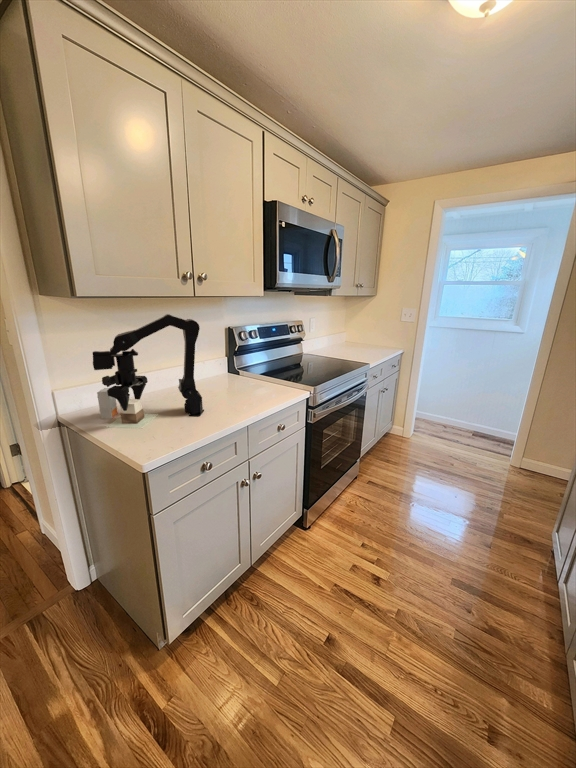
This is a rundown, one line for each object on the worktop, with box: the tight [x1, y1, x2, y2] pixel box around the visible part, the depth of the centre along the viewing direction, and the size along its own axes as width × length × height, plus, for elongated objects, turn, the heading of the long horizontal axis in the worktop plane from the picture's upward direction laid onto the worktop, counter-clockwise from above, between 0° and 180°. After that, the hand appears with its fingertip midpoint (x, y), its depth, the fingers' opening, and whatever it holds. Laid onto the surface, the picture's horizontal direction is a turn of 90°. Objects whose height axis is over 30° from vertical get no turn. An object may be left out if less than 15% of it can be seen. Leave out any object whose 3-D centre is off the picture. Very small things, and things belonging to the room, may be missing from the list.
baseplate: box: [106, 413, 159, 429], centre depth 125 cm, size 14×14×1 cm
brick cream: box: [119, 398, 143, 414], centre depth 124 cm, size 6×6×4 cm
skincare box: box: [96, 387, 119, 420], centre depth 128 cm, size 6×4×12 cm
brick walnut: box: [120, 408, 145, 424], centre depth 125 cm, size 6×6×4 cm
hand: (131, 406), depth 124 cm, fingers open, 9 cm apart
